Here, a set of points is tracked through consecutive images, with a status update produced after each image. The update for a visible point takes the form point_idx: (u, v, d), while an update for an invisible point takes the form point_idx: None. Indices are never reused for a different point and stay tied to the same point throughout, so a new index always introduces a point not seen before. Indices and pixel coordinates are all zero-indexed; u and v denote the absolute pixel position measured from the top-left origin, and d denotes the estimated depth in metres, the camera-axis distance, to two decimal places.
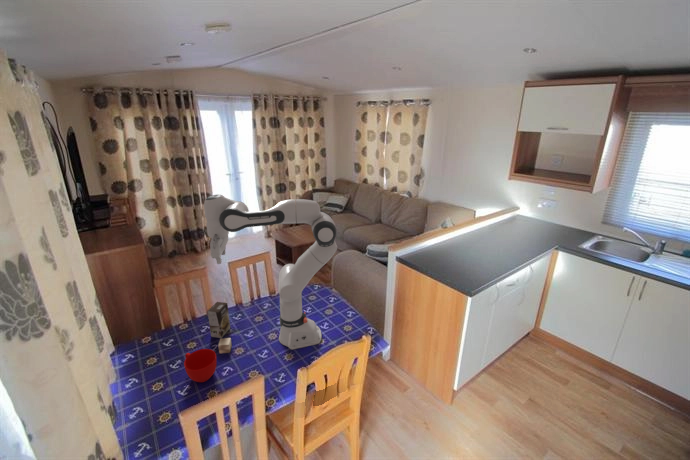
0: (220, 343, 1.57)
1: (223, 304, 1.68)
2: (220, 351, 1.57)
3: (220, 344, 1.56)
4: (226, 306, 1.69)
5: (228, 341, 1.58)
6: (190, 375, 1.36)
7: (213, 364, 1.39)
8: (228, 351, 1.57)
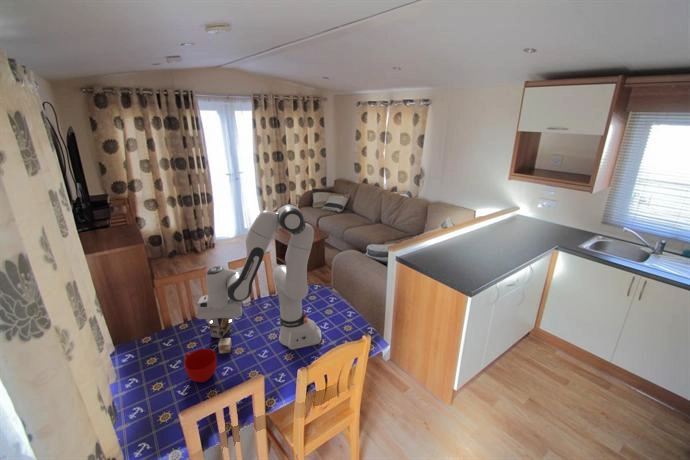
0: (220, 343, 1.57)
1: None
2: (220, 351, 1.57)
3: (220, 344, 1.56)
4: None
5: (228, 341, 1.58)
6: (190, 375, 1.36)
7: (213, 364, 1.39)
8: (228, 351, 1.57)
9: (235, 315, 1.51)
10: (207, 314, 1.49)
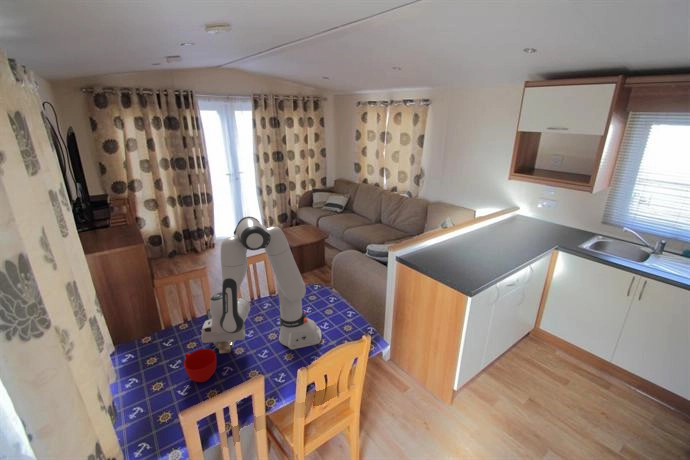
0: (220, 343, 1.57)
1: None
2: (220, 351, 1.57)
3: (220, 344, 1.56)
4: None
5: (228, 341, 1.58)
6: (190, 375, 1.36)
7: (213, 364, 1.39)
8: (228, 351, 1.57)
9: (238, 338, 1.56)
10: (211, 338, 1.54)
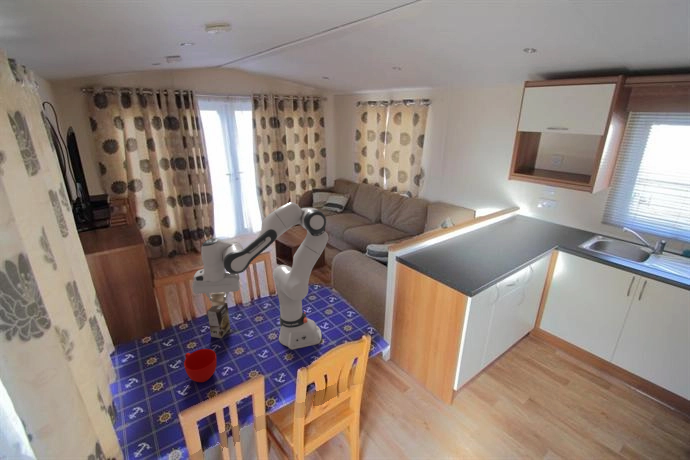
0: (213, 294, 1.47)
1: None
2: (213, 303, 1.47)
3: (213, 295, 1.46)
4: (226, 306, 1.69)
5: (222, 293, 1.48)
6: (190, 375, 1.36)
7: (213, 364, 1.39)
8: (221, 303, 1.48)
9: (233, 289, 1.47)
10: (203, 289, 1.45)
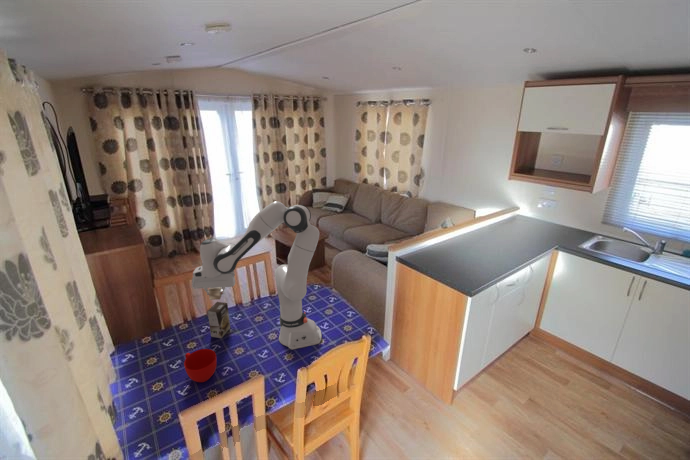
0: (210, 289, 1.61)
1: (223, 304, 1.68)
2: (210, 297, 1.61)
3: (210, 290, 1.60)
4: (226, 306, 1.69)
5: (218, 288, 1.62)
6: (190, 375, 1.36)
7: (213, 364, 1.39)
8: (218, 297, 1.62)
9: (228, 285, 1.61)
10: (202, 284, 1.58)
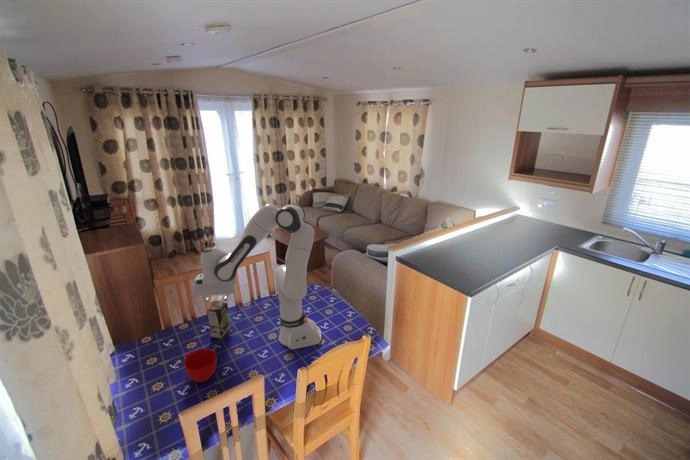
0: (212, 300, 1.63)
1: (223, 304, 1.68)
2: (212, 307, 1.63)
3: (212, 300, 1.62)
4: (226, 306, 1.69)
5: (220, 298, 1.64)
6: (190, 375, 1.36)
7: (213, 364, 1.39)
8: (220, 308, 1.64)
9: (229, 292, 1.62)
10: (203, 291, 1.60)
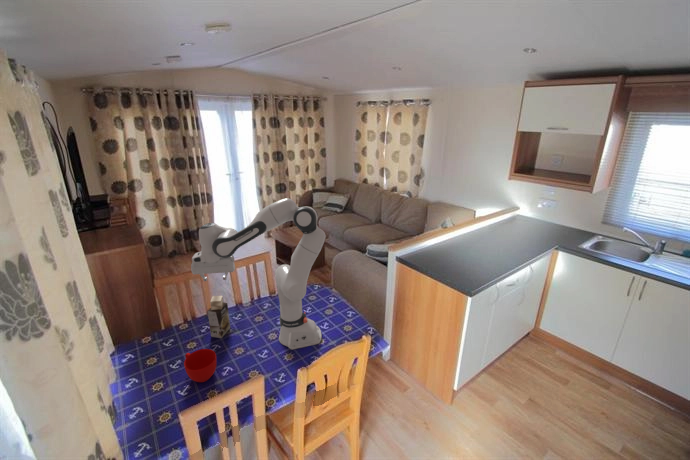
0: (212, 300, 1.63)
1: (223, 304, 1.68)
2: (212, 307, 1.63)
3: (212, 300, 1.62)
4: (226, 306, 1.69)
5: (220, 298, 1.64)
6: (190, 375, 1.36)
7: (213, 364, 1.39)
8: (220, 307, 1.64)
9: (228, 270, 1.59)
10: (201, 269, 1.57)
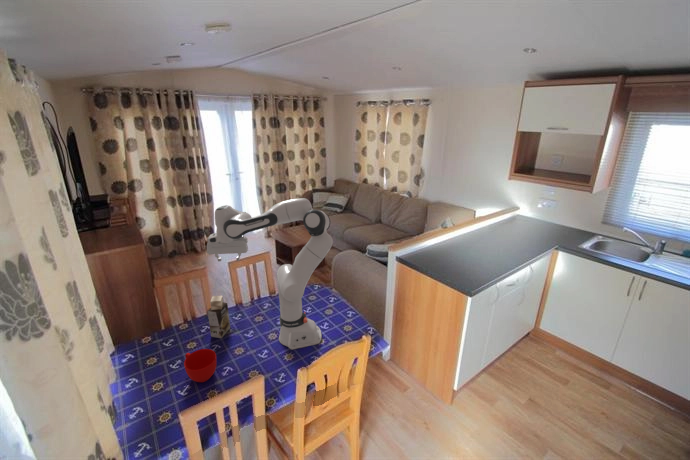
0: (212, 300, 1.63)
1: (223, 304, 1.68)
2: (212, 307, 1.63)
3: (212, 300, 1.62)
4: (226, 306, 1.69)
5: (220, 298, 1.64)
6: (190, 375, 1.36)
7: (213, 364, 1.39)
8: (220, 307, 1.64)
9: (241, 251, 1.67)
10: (216, 250, 1.65)
